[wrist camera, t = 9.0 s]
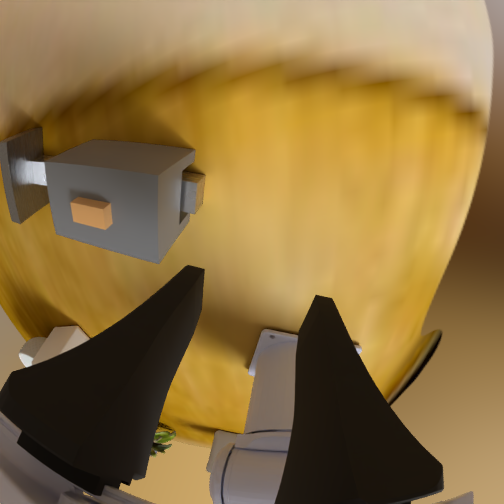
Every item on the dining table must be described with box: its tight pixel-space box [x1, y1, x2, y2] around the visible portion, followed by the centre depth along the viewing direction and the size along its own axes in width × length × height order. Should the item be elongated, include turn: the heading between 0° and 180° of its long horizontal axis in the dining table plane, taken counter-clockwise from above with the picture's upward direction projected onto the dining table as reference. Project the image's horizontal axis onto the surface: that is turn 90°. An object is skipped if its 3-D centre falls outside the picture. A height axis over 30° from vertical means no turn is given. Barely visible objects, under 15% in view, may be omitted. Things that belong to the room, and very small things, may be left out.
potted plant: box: [150, 431, 176, 457], centre depth 46 cm, size 11×11×12 cm
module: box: [44, 139, 195, 264], centre depth 14 cm, size 8×5×6 cm, turn 81°
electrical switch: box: [206, 430, 237, 473], centre depth 40 cm, size 9×5×9 cm, turn 80°
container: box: [31, 326, 90, 365], centre depth 27 cm, size 8×8×13 cm
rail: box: [0, 128, 205, 224], centre depth 15 cm, size 16×7×4 cm, turn 81°
